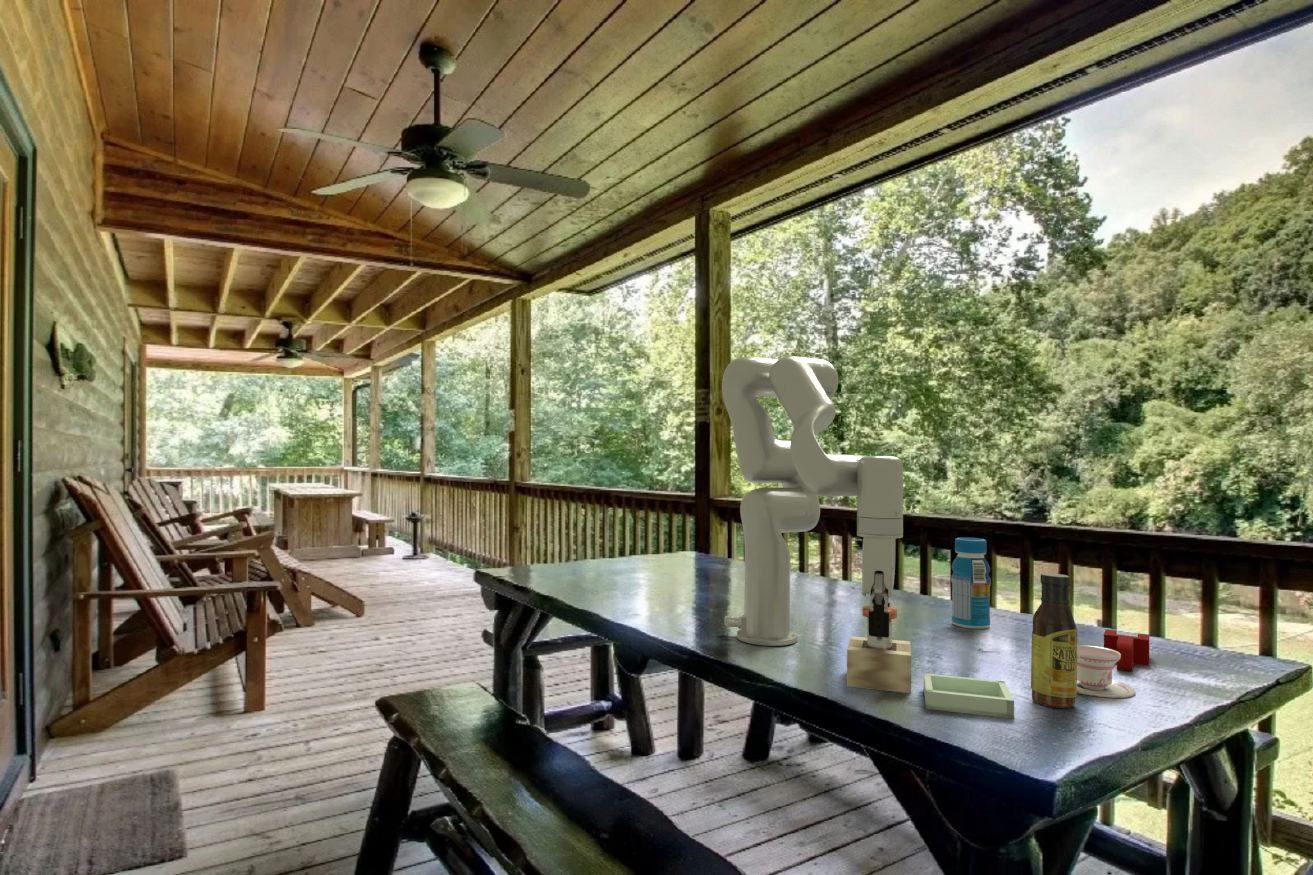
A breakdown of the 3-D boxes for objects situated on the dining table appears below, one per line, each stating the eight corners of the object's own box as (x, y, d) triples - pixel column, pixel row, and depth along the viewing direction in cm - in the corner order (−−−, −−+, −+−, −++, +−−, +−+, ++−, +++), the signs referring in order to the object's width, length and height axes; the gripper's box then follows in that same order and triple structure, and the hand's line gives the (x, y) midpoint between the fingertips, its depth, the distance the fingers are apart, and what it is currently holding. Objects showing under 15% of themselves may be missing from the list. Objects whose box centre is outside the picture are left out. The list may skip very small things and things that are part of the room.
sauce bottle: (1057, 712, 107) (1057, 578, 108) (1021, 699, 113) (1021, 572, 113) (1087, 707, 110) (1086, 576, 110) (1050, 694, 115) (1049, 571, 116)
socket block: (847, 686, 118) (847, 649, 118) (850, 670, 128) (850, 636, 128) (911, 693, 115) (911, 655, 115) (910, 676, 124) (910, 641, 125)
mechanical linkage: (1106, 652, 144) (1106, 627, 144) (1149, 658, 140) (1149, 632, 140) (1101, 670, 131) (1100, 642, 131) (1148, 677, 127) (1148, 648, 127)
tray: (926, 708, 108) (926, 691, 108) (923, 689, 117) (923, 673, 117) (1014, 718, 104) (1014, 700, 104) (1004, 698, 113) (1004, 681, 113)
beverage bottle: (947, 626, 164) (947, 539, 165) (955, 620, 171) (955, 536, 172) (987, 631, 160) (986, 541, 160) (994, 625, 166) (993, 538, 167)
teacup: (1112, 704, 112) (1112, 664, 112) (1037, 683, 122) (1037, 647, 122) (1149, 692, 118) (1149, 654, 118) (1075, 673, 128) (1074, 639, 128)
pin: (861, 684, 120) (861, 610, 120) (862, 674, 125) (863, 604, 125) (896, 687, 118) (896, 613, 118) (896, 678, 123) (896, 607, 124)
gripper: (859, 523, 132) (859, 618, 131) (854, 531, 115) (853, 640, 115) (902, 525, 129) (902, 622, 129) (903, 533, 113) (903, 644, 112)
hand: (879, 630), depth 122 cm, fingers open, 8 cm apart
